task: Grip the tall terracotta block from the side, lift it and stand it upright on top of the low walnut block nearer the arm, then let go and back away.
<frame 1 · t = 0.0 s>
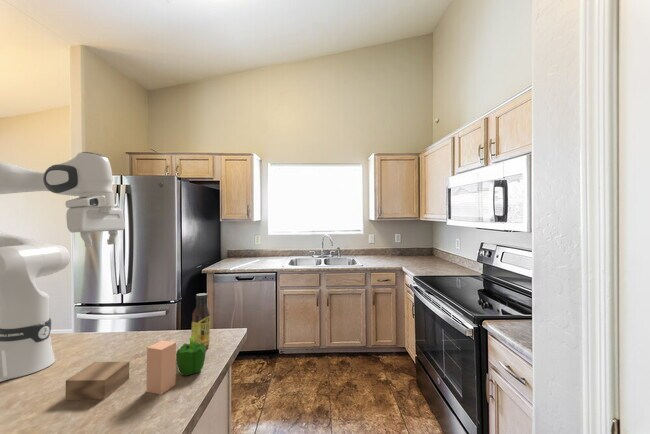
hand: (101, 245, 93), 39 cm above the worktop, tool pointing down, fingers open, 8 cm apart
terracotta block: (161, 387, 81), on the worktop
bell pepper: (191, 372, 90), on the worktop
walnut block: (99, 388, 80), on the worktop
sauce bottle: (200, 349, 106), on the worktop
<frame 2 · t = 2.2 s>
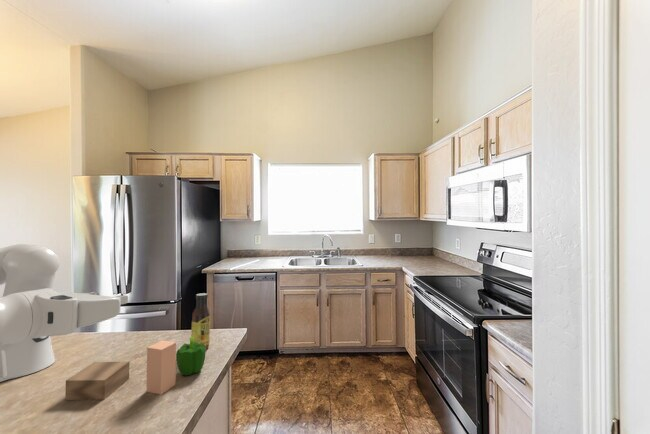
hand: (111, 297, 68), 29 cm above the worktop, tool horizontal, fingers open, 8 cm apart
nothing on the worktop moved.
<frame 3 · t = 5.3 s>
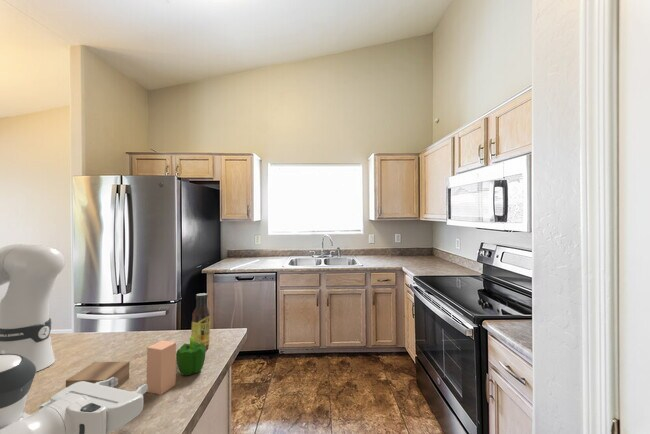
hand: (130, 383, 72), 6 cm above the worktop, tool horizontal, fingers open, 8 cm apart
nothing on the worktop moved.
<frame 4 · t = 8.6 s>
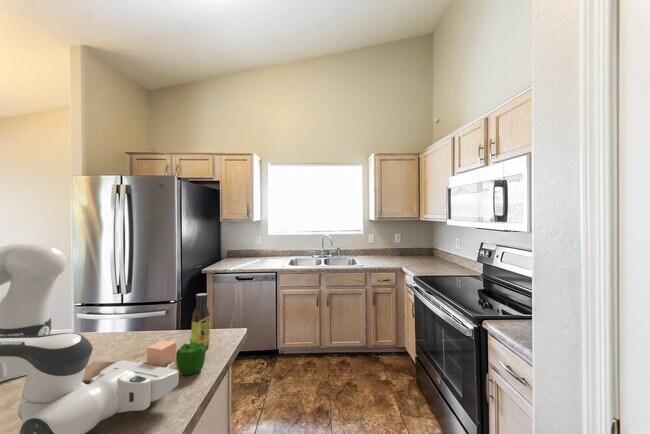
hand: (164, 362, 82), 7 cm above the worktop, tool horizontal, fingers closed on terracotta block, 5 cm apart
terracotta block: (161, 387, 81), on the worktop, touching gripper
everything else where it was.
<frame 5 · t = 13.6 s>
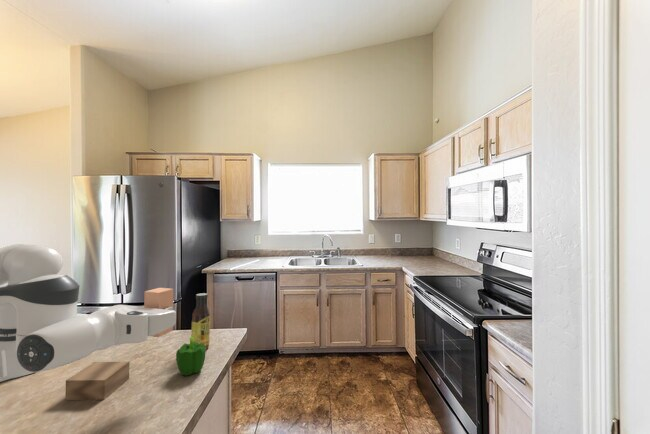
hand: (161, 308, 82), 22 cm above the worktop, tool horizontal, fingers closed on terracotta block, 5 cm apart
terracotta block: (158, 332, 81), point 15 cm above the worktop, touching gripper
everything else where it was.
when the fingers open (13 cm above the worktop, at t = 19.0 s): terracotta block drops 1 cm, resting on walnut block.
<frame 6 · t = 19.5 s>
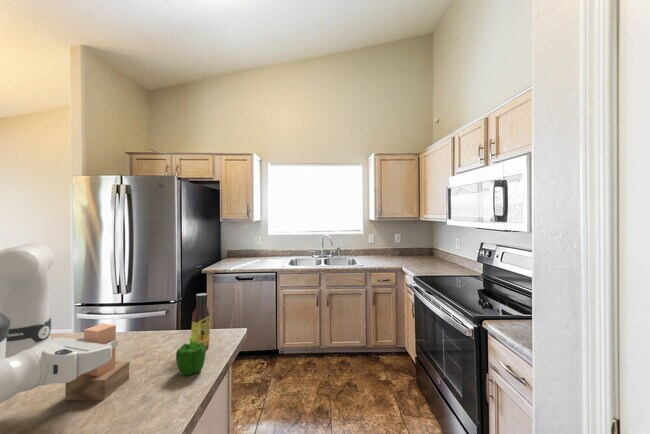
hand: (103, 340, 82), 13 cm above the worktop, tool horizontal, fingers open, 8 cm apart
terracotta block: (99, 370, 81), point 5 cm above the worktop, touching walnut block
everything else where it was.
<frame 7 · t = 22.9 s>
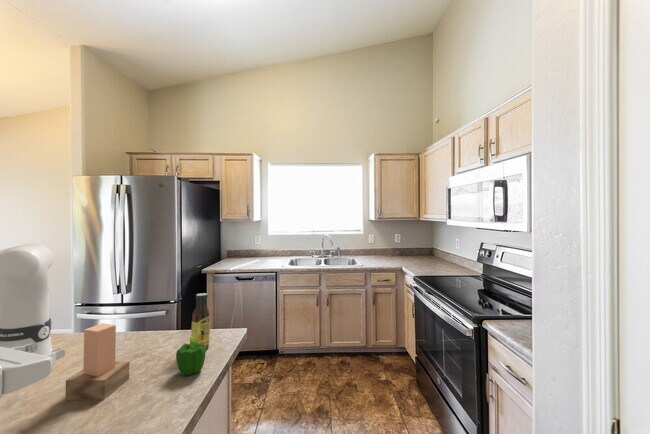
hand: (48, 349, 69), 16 cm above the worktop, tool horizontal, fingers open, 8 cm apart
nothing on the worktop moved.
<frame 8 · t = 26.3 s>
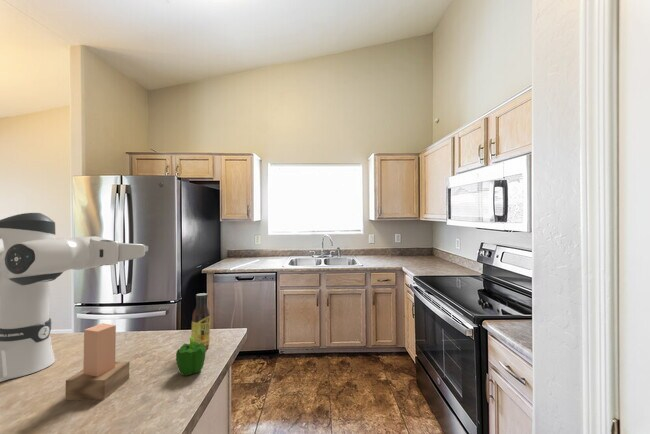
hand: (135, 248, 94), 38 cm above the worktop, tool horizontal, fingers open, 8 cm apart
nothing on the worktop moved.
at the end: terracotta block 0.0 cm off-centre on the walnut block, point 5.0 cm above the walnut block's base; terracotta block tilted 0°; the gripper is holding nothing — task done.
